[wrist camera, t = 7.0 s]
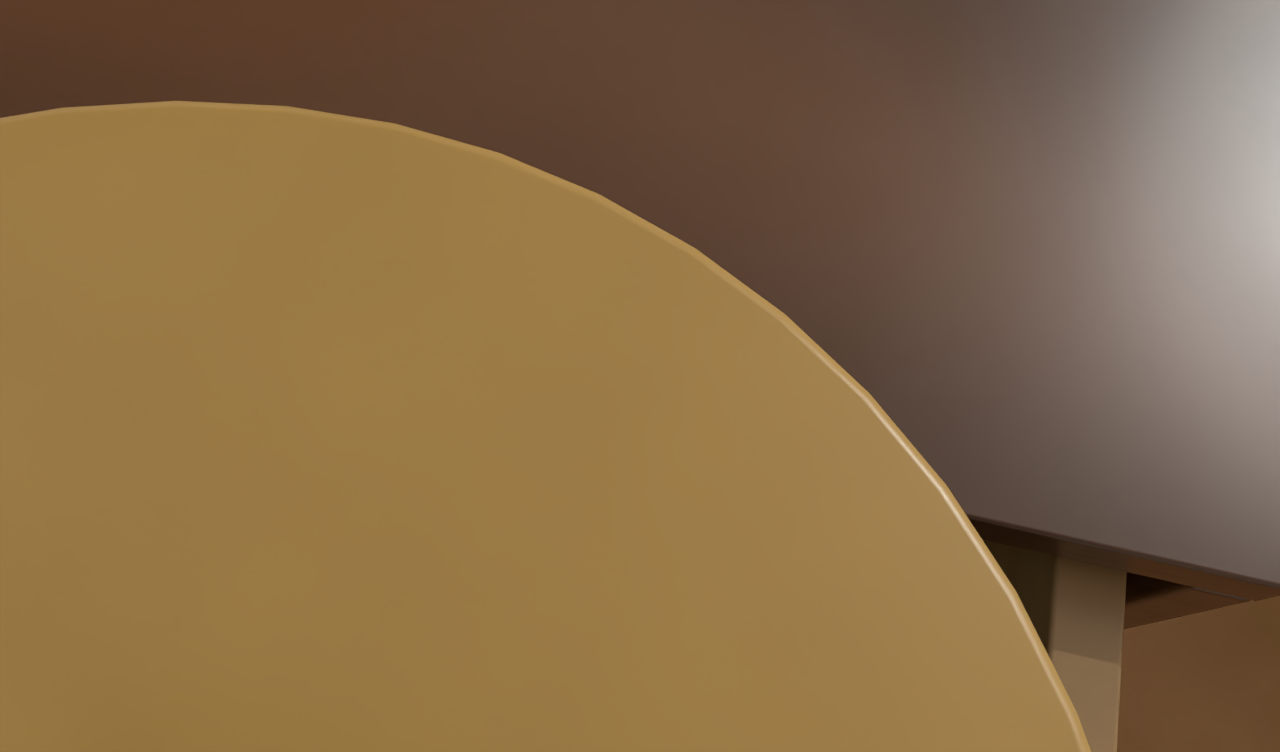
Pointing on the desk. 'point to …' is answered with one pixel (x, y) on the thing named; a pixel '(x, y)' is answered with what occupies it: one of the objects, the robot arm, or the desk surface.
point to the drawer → (1075, 630)
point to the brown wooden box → (869, 210)
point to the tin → (447, 470)
